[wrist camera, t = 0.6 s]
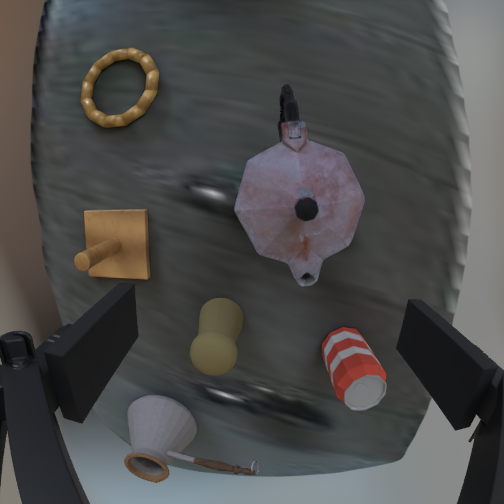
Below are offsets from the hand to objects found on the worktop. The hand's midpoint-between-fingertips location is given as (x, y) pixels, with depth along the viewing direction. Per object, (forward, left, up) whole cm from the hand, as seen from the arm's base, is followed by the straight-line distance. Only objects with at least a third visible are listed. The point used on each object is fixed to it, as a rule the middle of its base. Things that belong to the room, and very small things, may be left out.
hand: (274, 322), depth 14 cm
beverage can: (+16, +12, -27) cm, 33 cm away
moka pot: (-6, +2, -27) cm, 27 cm away
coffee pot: (+29, -10, -27) cm, 41 cm away
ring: (-19, -19, -26) cm, 37 cm away
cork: (+12, -5, -27) cm, 30 cm away
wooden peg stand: (+2, -19, -26) cm, 32 cm away
